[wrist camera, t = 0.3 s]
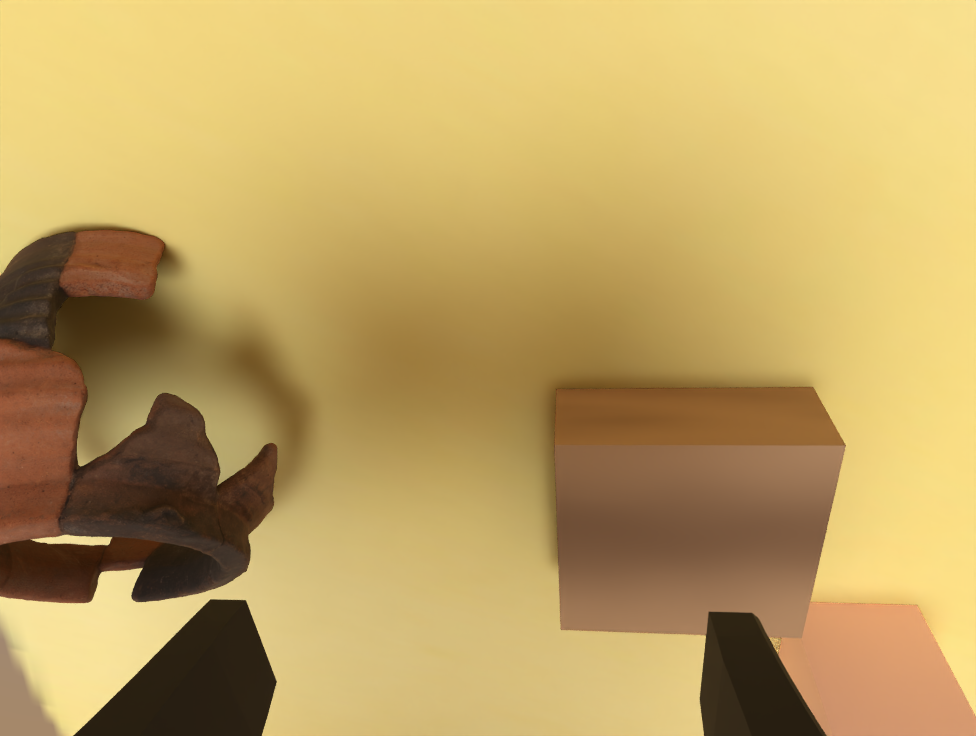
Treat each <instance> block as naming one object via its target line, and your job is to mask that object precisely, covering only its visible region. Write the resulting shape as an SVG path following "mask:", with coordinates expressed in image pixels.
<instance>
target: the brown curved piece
mask: <svg viewBox="0 0 976 736" xmlns="http://www.w3.org/2000/svg"><path fill="white" fill-rule="evenodd" d="M164 245H165V244H164V242H163V241H162V240H160V239H159V238H157V237H154V236H148V235H143V234H140V233H136V232H131V231H114V230H96V231H81V232H66V233H61V234H57V235H54V236H51V237H47V238H41V239H39V240H37V241H35V242H34V243H32V244H31V245H29V246H27V247H25V248H24V249H22V250H21V251H20V252H19V253H18V254H17V255H16V256H15V257H14V258H13V259H12V260H11V262H10V263H9V265H8V266H7V268H6V269H5V271H4V273H3V274H2V275H1V276H0V596H1V597H6V598H15V599H24V600H33V601H43V602H58V603H88V602H90V601H92V599H93V596H94V593H95V591H96V588H97V584H98V578H99V575H100V573H101V572H104V571H121V570H131V569H137V568H143V569H142V571H141V572H140V575H139V577H138V579H137V581H136V583H135V586H134V588H133V592H132V595H131V596H132V599H133V600H134V601H136V602H147V601H159V600H164V599H170V598H177V597H184V596H188V595H193V594H199V593H202V592H206V591H208V590H212V589H215V588H218V587H221V586H223V585H225V584H227V583H229V582H231V581H233V580H234V579H235V578H236V577H238V576H240V575H241V574H242V573H244V572H246V571H247V568H248V565H249V561H250V554H251V549H250V544H249V540H248V535H249V534H250V533H251V532H252V531H253V530H254V529H255V528H256V527H258V526H259V524H260V523H261V522H262V521H263V519H264V518H265V517H266V515H267V514H268V513H269V512H270V511H271V510H272V508H273V506H274V498H273V487H274V477H275V473H276V469H277V446H276V445H275V444H273V443H269V444H266V445H265V446H264V447H263V448H262V450H261V451H260V452H259V454H258V455H257V456H256V457H255V458H254V459H253V460H252V462H251V463H249V464H248V465H247V466H246V467H245V468H243V469H241V470H240V471H238V472H237V473H235V474H234V475H233V476H231V477H229V478H228V479H227V480H225V481H224V482H222V483H221V484H219V485H218V486H217V483H218V480H219V475H220V467H219V463H218V458H217V455H216V453H215V451H214V449H213V447H212V445H211V443H210V441H209V439H208V438H207V436H206V433H205V421H204V418H203V416H202V415H201V413H200V412H199V411H198V410H197V409H196V408H195V407H193V406H192V405H190V404H189V403H187V402H185V401H184V400H182V399H181V398H179V397H177V396H175V395H172V394H168V393H162V394H159V395H158V396H157V398H156V399H155V401H154V404H153V406H152V408H151V410H150V413H149V415H148V418H147V422H146V424H145V425H144V426H142V427H140V428H138V429H136V430H135V431H133V432H132V433H131V434H130V435H129V436H128V437H126V438H125V439H124V440H123V441H122V442H120V443H119V444H118V445H117V446H116V447H114V448H113V449H112V450H110V451H109V452H108V453H106V454H104V455H102V456H100V457H97V458H96V459H94V460H93V461H91V462H89V463H88V464H86V465H84V466H79V465H78V460H77V438H78V429H79V424H80V418H81V415H82V413H83V410H84V407H85V405H86V402H87V397H88V393H87V387H86V386H85V384H84V378H83V374H82V371H81V369H80V368H79V366H78V364H77V363H76V362H75V361H74V360H73V359H71V358H69V357H67V356H66V355H64V354H62V353H60V352H55V351H53V350H51V348H52V346H53V343H54V340H55V325H56V314H57V311H58V310H59V308H60V307H61V305H62V304H63V302H64V301H65V300H66V299H67V298H68V297H86V296H100V297H104V296H111V297H123V298H133V299H139V300H144V299H148V298H150V297H151V296H152V295H153V293H154V291H155V285H156V280H157V275H158V274H157V269H156V268H157V265H158V264H159V261H160V259H161V257H162V253H163V251H164ZM61 535H73V536H91V537H112V539H111V542H110V544H109V545H94V546H90V545H78V544H47V543H39V542H35V541H33V540H30V539H37V538H44V537H58V536H61Z"/></svg>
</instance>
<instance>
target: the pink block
mask: <svg viewBox="0 0 976 736" xmlns="http://www.w3.org/2000/svg"><path fill="white" fill-rule="evenodd" d="M778 656H779V658H780V659H781V661H782V663H783V665H784V666H785V668H786V670H787V672H788V673H789V675H790V677H791V679H792V680H793V682H794V684H795V685H796V687H797V689H798V690H799V692H800V694H801V695H802V697H803V699H804V700H805V702H806V704H807V705H808V707H809V708H810V710H811V712H812V713H813V715H814V716H815V718H816V720H817V721H818V723H819V724H820V726H821V728H822V729H823V731H824V732H825V734H826V735H827V736H976V716H975V714H974V712H973V710H972V708H971V707H970V705H969V703H968V701H967V699H966V697H965V695H964V693H963V691H962V689H961V687H960V686H959V684H958V682H957V680H956V678H955V676H954V674H953V672H952V670H951V668H950V666H949V665H948V663H947V661H946V659H945V657H944V655H943V653H942V651H941V649H940V647H939V646H938V644H937V642H936V640H935V638H934V636H933V634H932V632H931V630H930V628H929V626H928V625H927V623H926V621H925V619H924V617H923V615H922V613H921V611H920V609H919V607H918V606H917V605H897V604H861V603H825V602H810V604H809V609H808V613H807V617H806V622H805V626H804V631H803V635H802V638H782V639H781V644H780V649H779V654H778Z"/></svg>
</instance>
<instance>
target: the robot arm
mask: <svg viewBox="0 0 976 736" xmlns="http://www.w3.org/2000/svg"><path fill="white" fill-rule="evenodd" d="M276 682H277V681H276V679H275V676H274V673H273V671H272V668H271V666H270V663H269V660H268V658H267V655H266V652H265V650H264V647H263V644H262V642H261V639H260V636H259V634H258V631H257V628H256V626H255V623H254V621H253V618H252V615H251V613H250V610H249V607H248V605H247V602H246V600H212V599H211V600H210V601H209V602H208V603H207V604H206V605H204V606H203V607H202V608H201V609H200V610H199V611H198V612H197V613H196V614H195V615H194V616H193V617H192V618H191V619H190V620H189V621H188V622H187V623H186V624H185V625H184V626H183V627H182V628H181V630H180V631H179V632H178V633H177V634H176V635H175V636H174V637H173V638H172V639H171V640H170V641H169V642H168V643H167V644H166V645H165V646H164V647H163V648H162V649H161V650H160V651H159V652H158V653H157V654H156V655H155V656H154V657H153V658H152V659H151V660H150V661H149V662H148V663H147V664H146V665H145V666H144V667H143V668H142V669H141V670H140V671H139V672H138V673H137V674H136V675H135V676H134V677H133V678H132V679H131V680H130V681H129V682H128V683H127V684H126V685H125V686H124V687H123V688H122V689H121V690H120V691H119V692H118V693H117V694H116V695H115V696H114V697H113V698H112V699H111V700H110V701H109V702H108V703H107V704H106V705H105V706H104V707H103V708H102V709H101V710H100V711H99V712H98V713H97V714H96V715H95V716H94V717H93V718H92V719H91V720H89V721H88V722H87V723H86V724H85V725H84V726H83V727H82V728H81V729H80V730H79V731H78V732H77V733H76V734H75V735H74V736H262V733H263V729H264V726H265V723H266V719H267V716H268V712H269V708H270V705H271V701H272V697H273V693H274V690H275V686H276ZM700 705H701V713H702V721H703V730H704V736H827V735H826V734H825V732H824V731H823V729H822V728H821V726H820V724H819V723H818V721H817V720H816V718H815V716H814V715H813V713H812V712H811V710H810V708H809V707H808V705H807V704H806V702H805V700H804V699H803V697H802V695H801V694H800V692H799V690H798V689H797V687H796V685H795V684H794V682H793V680H792V679H791V677H790V675H789V673H788V672H787V670H786V668H785V666H784V665H783V663H782V661H781V659H780V658H779V656H778V654H777V652H776V650H775V649H774V647H773V645H772V643H771V641H770V639H769V637H768V635H767V633H766V632H765V630H764V628H763V626H762V624H761V622H760V620H759V618H758V617H757V616H755V615H754V614H753V613H745V612H709V613H708V623H707V633H706V643H705V653H704V663H703V672H702V682H701V692H700Z"/></svg>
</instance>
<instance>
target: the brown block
mask: <svg viewBox="0 0 976 736" xmlns="http://www.w3.org/2000/svg"><path fill="white" fill-rule="evenodd" d="M845 447H846V445H845V443H844V442H843V440H842V438H841V436H840V434H839V433H838V431H837V429H836V427H835V425H834V424H833V422H832V420H831V418H830V416H829V415H828V413H827V411H826V409H825V408H824V406H823V404H822V402H821V400H820V399H819V397H818V395H817V393H816V391H815V390H814V388H813V387H762V388H622V389H556V415H555V442H554V449H555V478H556V507H557V536H558V565H559V594H560V622H561V630H581V631H608V632H636V633H664V634H692V635H706V633H707V623H708V613H709V612H745V613H753V614H754V615H755V616H757V617H758V618H759V620H760V622H761V624H762V626H763V628H764V630H765V632H766V633H767V635H768V637H775V638H802V635H803V631H804V626H805V622H806V617H807V613H808V609H809V604H810V600H811V595H812V591H813V587H814V582H815V578H816V574H817V569H818V565H819V560H820V556H821V552H822V547H823V543H824V539H825V534H826V530H827V525H828V521H829V517H830V512H831V508H832V503H833V499H834V495H835V490H836V486H837V482H838V477H839V473H840V468H841V464H842V460H843V455H844V451H845Z"/></svg>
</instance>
